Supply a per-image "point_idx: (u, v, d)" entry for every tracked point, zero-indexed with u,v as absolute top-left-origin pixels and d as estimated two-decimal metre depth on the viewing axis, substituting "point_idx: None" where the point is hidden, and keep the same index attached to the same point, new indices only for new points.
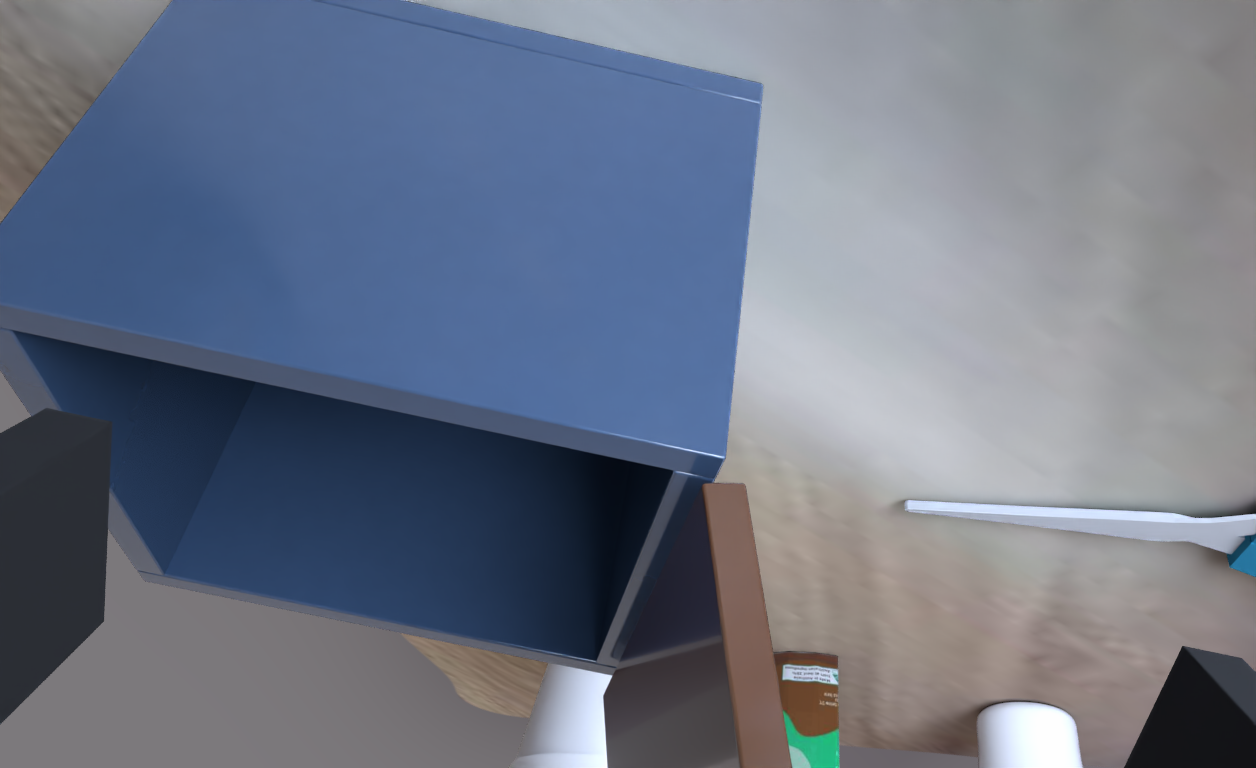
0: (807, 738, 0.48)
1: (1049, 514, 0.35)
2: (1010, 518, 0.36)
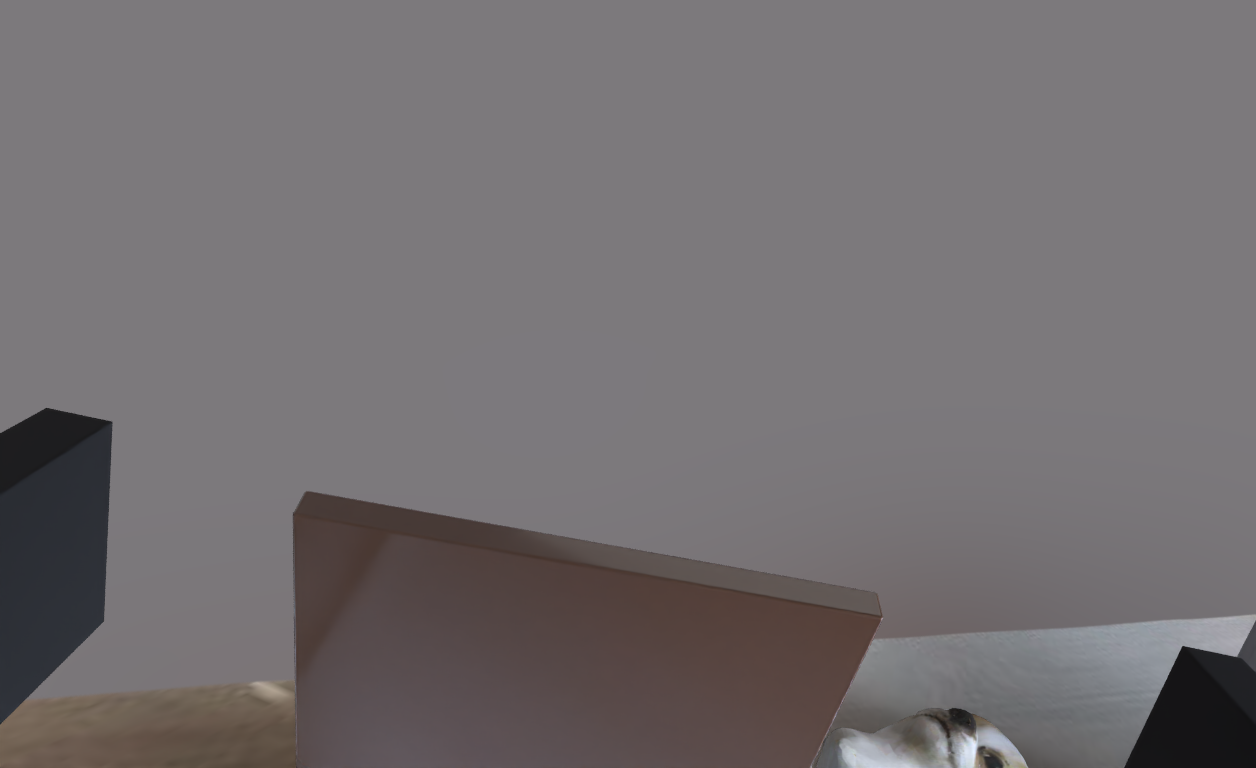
0: None
1: None
2: None
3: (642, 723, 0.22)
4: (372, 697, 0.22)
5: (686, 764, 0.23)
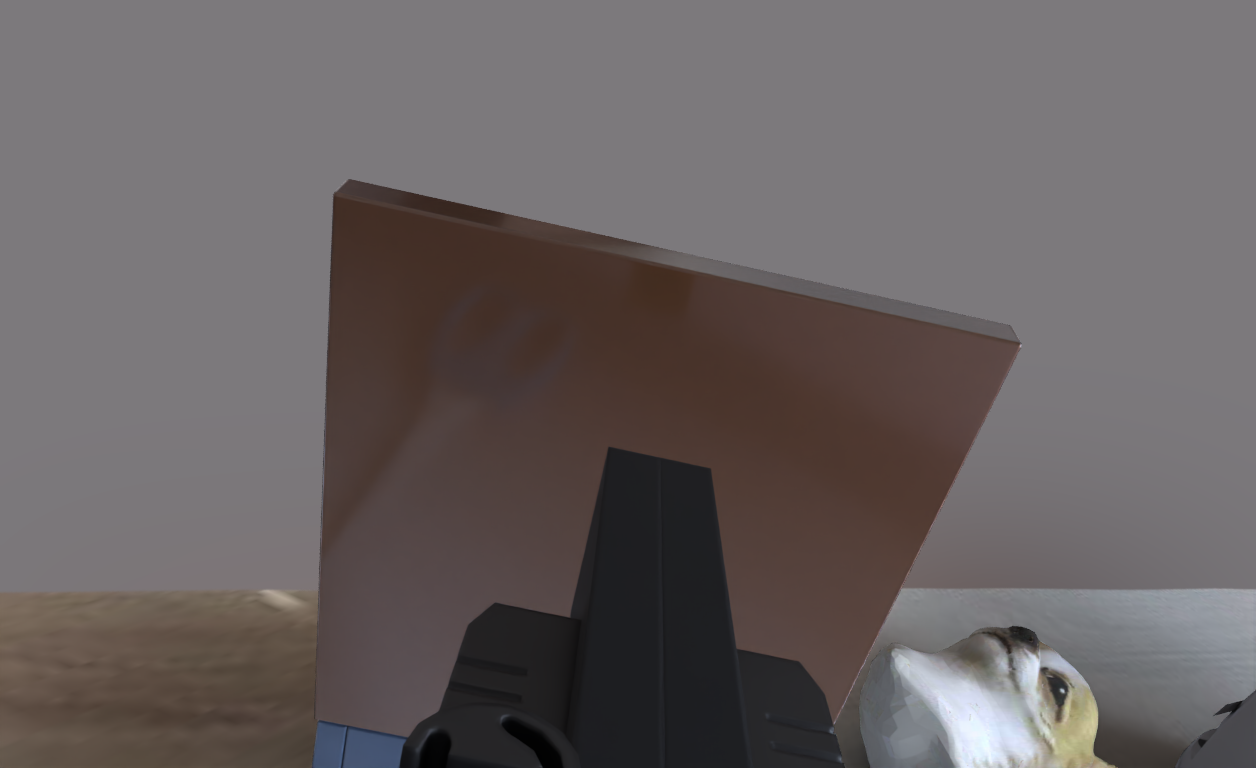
0: None
1: None
2: None
3: (724, 495, 0.19)
4: (412, 458, 0.19)
5: (770, 554, 0.20)
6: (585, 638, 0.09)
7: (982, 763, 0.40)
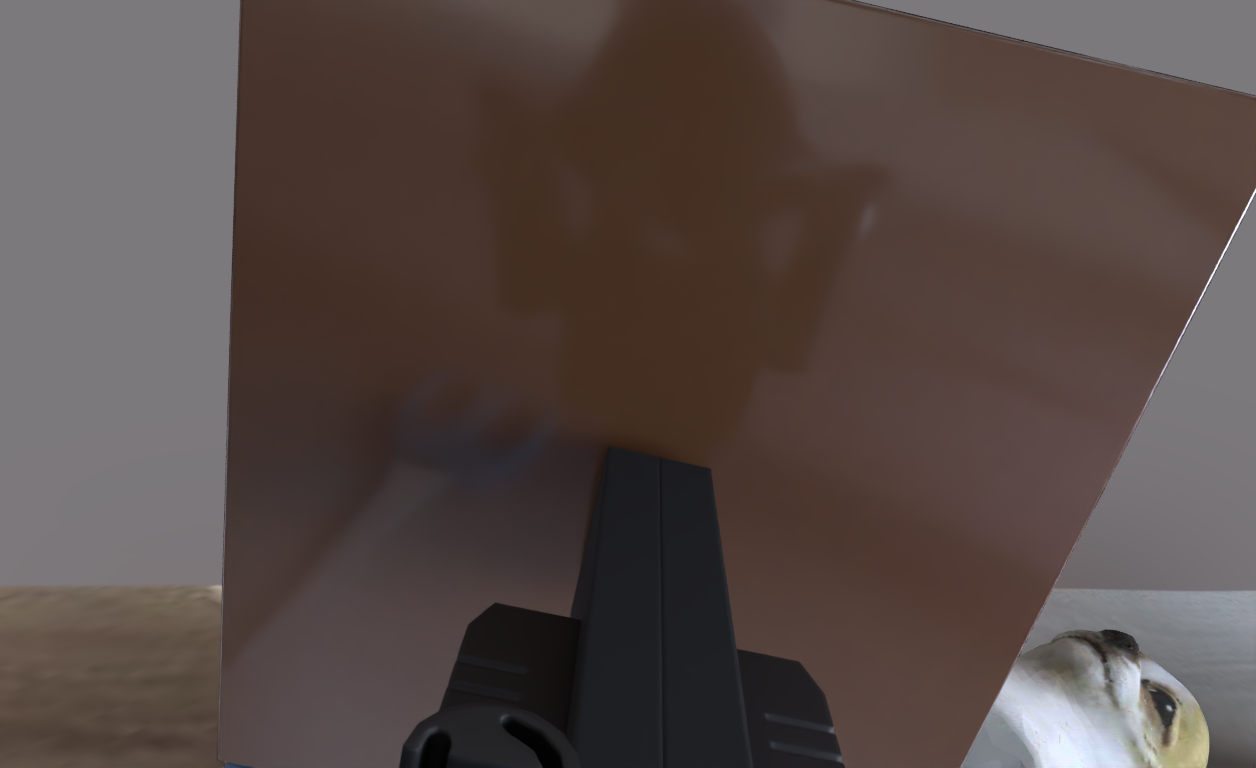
0: None
1: None
2: None
3: (827, 381, 0.13)
4: (363, 327, 0.13)
5: (892, 478, 0.13)
6: (585, 638, 0.09)
7: None
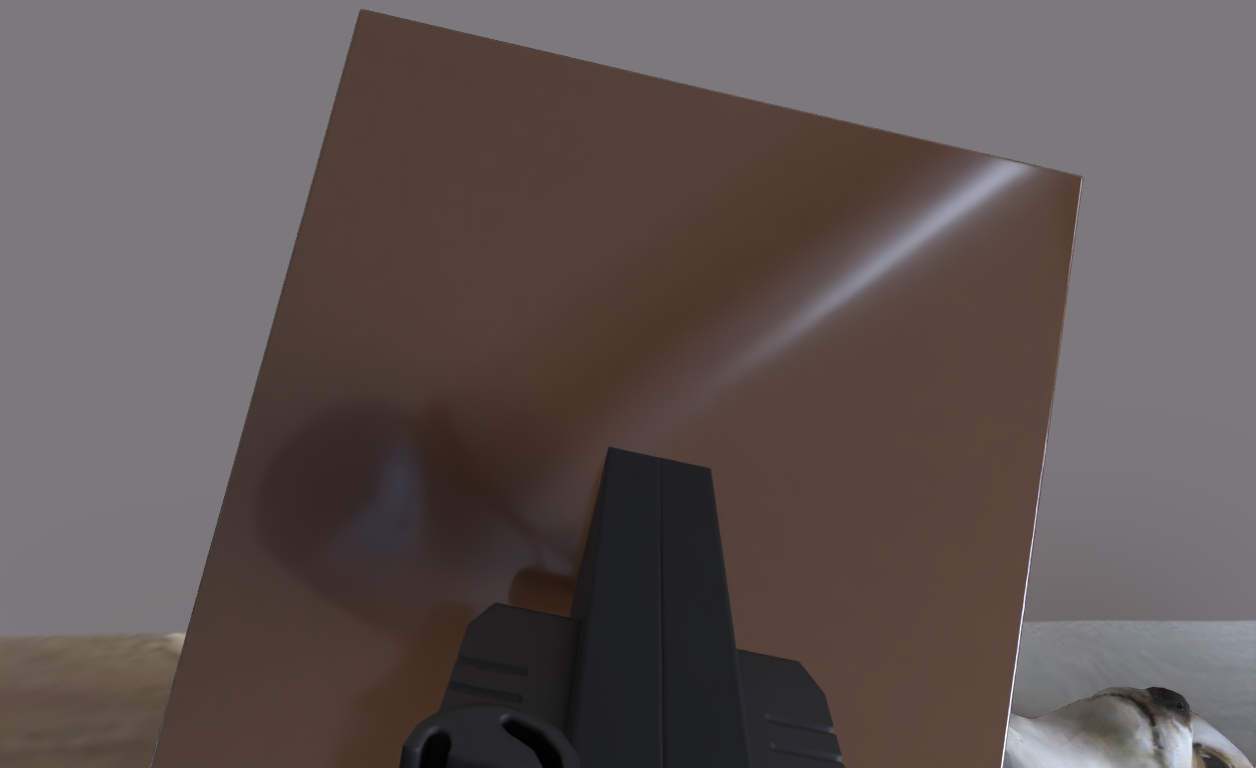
0: None
1: None
2: None
3: (792, 386, 0.15)
4: (389, 343, 0.15)
5: (859, 481, 0.15)
6: (585, 638, 0.09)
7: None
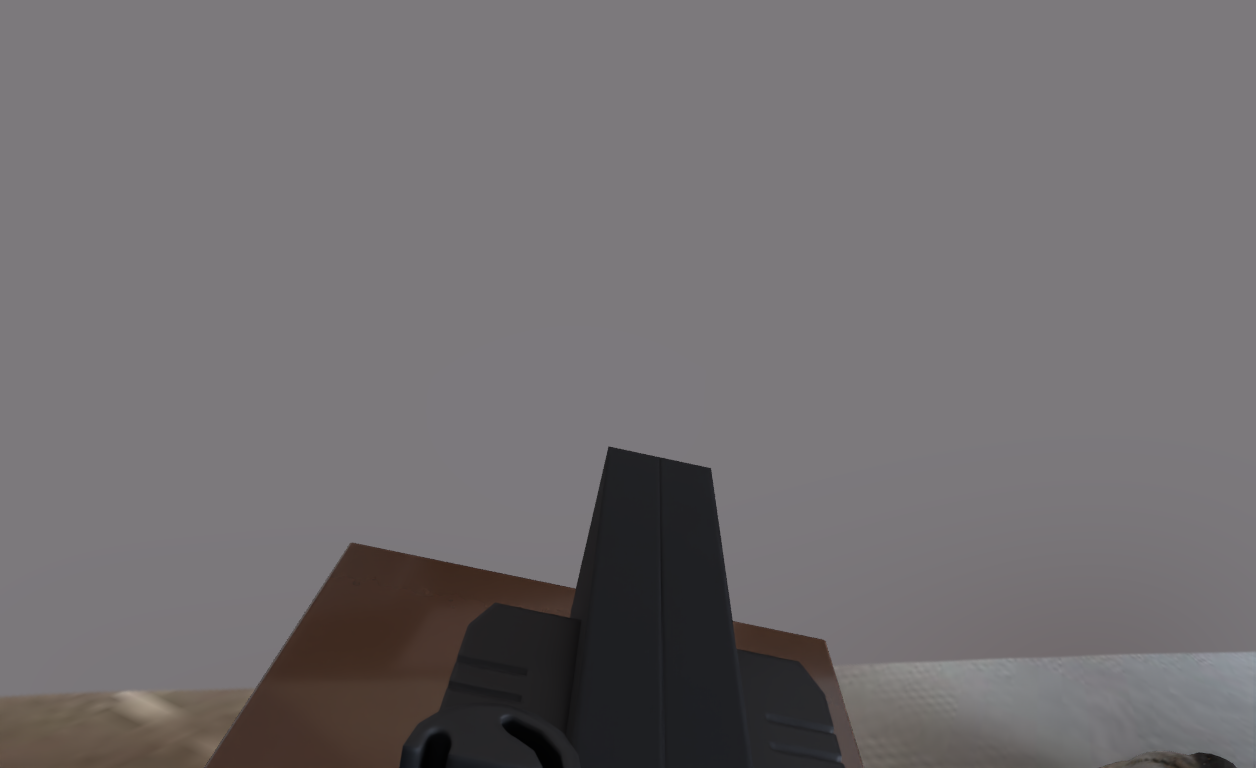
0: None
1: None
2: None
3: None
4: (358, 686, 0.19)
5: None
6: (585, 638, 0.09)
7: None
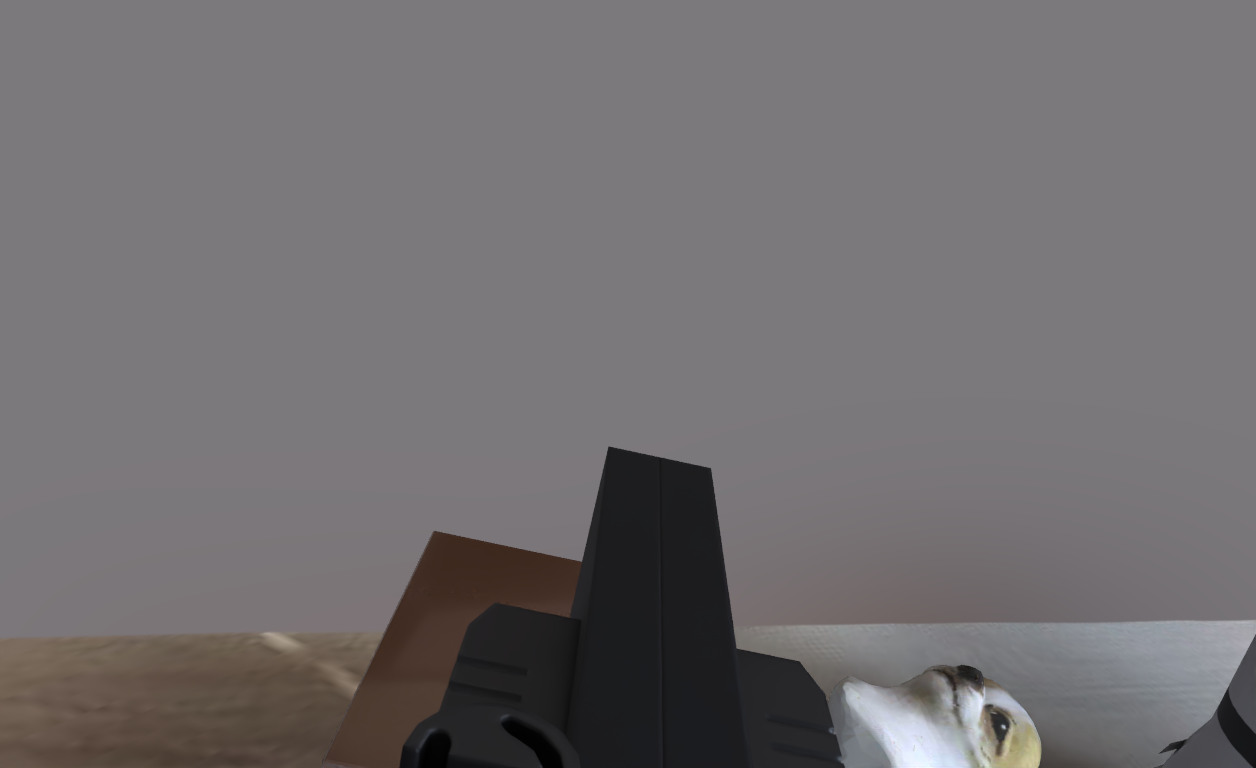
0: None
1: None
2: None
3: None
4: (450, 605, 0.35)
5: None
6: (585, 638, 0.09)
7: None
